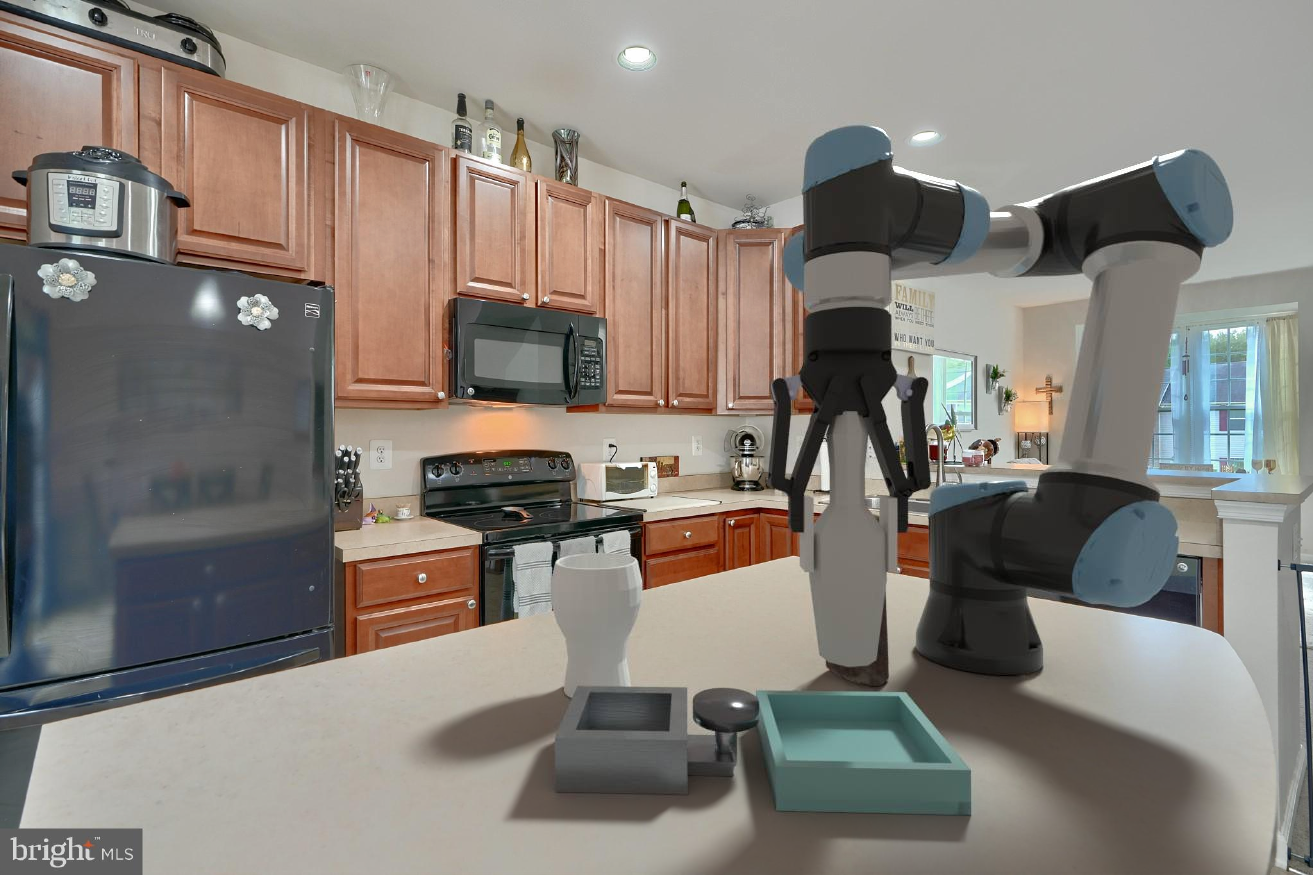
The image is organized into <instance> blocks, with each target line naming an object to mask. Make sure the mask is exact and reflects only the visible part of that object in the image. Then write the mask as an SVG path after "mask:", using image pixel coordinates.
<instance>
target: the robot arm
mask: <svg viewBox="0 0 1313 875" xmlns="http://www.w3.org/2000/svg"><path fill="white" fill-rule="evenodd" d="M893 160H894V154H893V152H892V142H891V138H890V137H889V136H888V135H887V134H886V132H885V131H884V130H883V129H881V128H879V127H878V126H877V127H876V126H873V125H868V124H866V125H865V124H864V125H863V124H861V125H860V124H854V125H847V126H846V125H845V126H842V127H838V128H834V129H830V130H829V131H826V132H825V133H823V134H822V135H820V136H818V137H817V138H815V139H814V140H813V141H812V142H811V143H810V145H809V146H808V148H807V149H806V152H805V158H804V166H803V182H802V190H801V194H802V211H803V212H802V213H803V214H802V216H803V217H802V218H803V220H802V221H803V229H802V230H800V231H799V232H797V233H796V234H794V235H792V236H791V237H790V238H789V240H787V242H786V244H785V246H784V249H783V253H782V266H783V271H784V275H785V277H786V279H787V280H788V282H789V283H790V285H791V286H792V287H794V288H795V289H796V290H798V291H799V292H802V293H803V308H804V309H805V310H806V311H807V312H809V313H808V314H807V315H806V317H805V318H804V319H803V363H802V366H801V369H799V372H798V374H796V375H793V376H789V377H785V378H782V377H778V378H775V379H773V380H772V381H771V382H770V383H769V390H770V394H771V399H772V401H773V405H774V406H773V407H774V408H773V418H772V428H771V439H770V440H771V441H770V449H769V450H770V452H769V461H768V471H767V485H769V487H771V488H772V489H775V490H777V491H780V492H783V493H785V495H786V496H787V526H788V527H789V528H788V529H789V531H791V532H792V533H794V534H795V533H796V534H797V533H798V534H799V567H800V568H801V569H802V570H803V572H805V573H809V572H814V523H815V522H814V516H815V515H814V514H815V512H814V510H815V508H814V506H815V504H814V503H815V502H814V499H815V498H814V497H812V496H810V495H809V494H808V495H807V494H805V493H806V490H807V487H808V484H809V482H810V479H811V475H812V473H813V471H814V468H815V464H816V463H817V458H818V456H819V452H820V450H821V447H822V445H823V442H824V439H825V437H826V436H825V435H826V433H827V430H828V427H829V424H830V422H831V419H832V416H834V415H842V414H843V412H844V411H857V413H858V415H863V419H864V422H865V425H866V428H867V431H868V439H869V440H870V442H871V446H872V449H873V451H874V454H875V458H876V460H877V463H878V466H879V468H880V471H881V474H882V477H883V480H884V482H885V485H886V488H887V491H888V493H889V494H888V495H887V494H885V495H882V494H881V495H880V494H879V496H878V497H879V503H878V504H879V506H878V507H879V508H878V510H879V512H878V516H879V523H880V525H881V526H882V527H883V529H884V530H885V531H886V533H887V574H888V573H889V574H891V573H893V574H896V573H897V574H898V534H906V533H907V532H908V529H909V499H910V498H911V497H912V495H913V494H914V493H916V492H919V491H922V490H924V491H925V490H928V489H929V488H930V487H931V485H932V478H931V468H930V461H929V460H930V458H929V448H928V447H929V446H928V438H927V436H928V435H927V428H926V427H927V426H926V418H925V417H926V415H925V406H924V403H925V399H926V397H927V393H928V388H929V380H928V378H926V377H923V376H920V377H912V376H907V375H904V374H899V373H898V372H897V371H898V370H897V369H896V367H895V366H894V363H893V361H892V351H893V350H892V348H893V347H892V337H893V336H892V333H893V332H892V320H893V319H892V314H891V313H890V312H889V310H887V309H886V308H887V307H889V306H890V305H891V304H892V301H893V296H892V295H893V294H892V290H893V289H892V281H902V280H903V281H904V280H913V279H914V280H917V279H925V278H927V279H928V278H937V277H949V276H961V275H972V274H981V273H984V274H985V273H988V274H990V275H992V276H994V277H996V278H1000V279H1009V278H1010V279H1011V278H1030V277H1031V278H1032V277H1036V278H1037V277H1059V276H1060V277H1061V276H1062V277H1064V276H1074V275H1082V274H1084V276H1085V277H1086V278H1087V279H1089V280H1090V281H1091V282H1092V286H1091V291H1090V297H1089V301H1088V307H1087V310H1086V311H1087V312H1086V317H1085V322H1084V326H1083V332H1082V337H1081V343H1080V346H1079V352H1078V357H1077V361H1076V366H1075V371H1074V372H1075V373H1074V376H1073V382H1072V388H1071V392H1070V396H1069V402H1068V407H1067V411H1066V412H1067V413H1066V417H1065V421H1064V422H1065V423H1064V426H1063V432H1062V436H1061V442H1060V445H1059V446H1060V447H1059V451H1058V457H1057V461H1056V462H1055V463H1054V464H1052V465H1051V466H1049V467H1047V468H1046V469H1043V471H1040V474H1039V478H1038V481H1037V486H1036V490H1035V492H1029V491H1030V490H1029V487H1028V485H1027V484H1028V483H1027V482H1026V481H1025V480H1023V479H1017V480H1016V479H1014V480H1013V479H1011V480H996V481H981V482H968V483H955V484H954V483H951V484H941V485H938V486H936V487H935V488H934V489H933V490H932V491H931V493H930V496H929V507H928V514H927V519H928V522H927V523H928V560H929V561H928V563H929V564H928V567H929V572H928V573H929V590H928V596H927V599H926V602H925V605H924V607H923V611H922V612H921V613H922V614H921V616H920V618H919V621H918V625H917V627H916V632H915V650H916V651H917V652H918V653H919V654H920V655H921V656H923V657H924V658H926V659H928V660H930V661H931V662H934V663H937V664H940V665H943V666H946V667H949V668H952V669H957V670H962V671H967V672H970V673H971V672H972V673H978V674H979V673H980V674H986V675H996V676H997V675H999V676H1000V675H1001V676H1002V675H1003V676H1007V675H1008V676H1010V675H1012V676H1014V675H1015V676H1016V675H1024V674H1025V675H1026V674H1029V673H1035V672H1037V671H1039V670H1040V669H1042V668H1043V666H1044V646H1043V643H1042V640H1041V638H1040V634H1039V631H1038V629H1037V625H1036V623H1035V620H1034V617H1033V615H1032V612H1031V609H1030V606H1029V603H1028V589H1032V590H1035V591H1039V592H1044V593H1049V594H1054V595H1058V596H1064V597H1068V598H1072V599H1077V600H1079V601H1082V602H1085V603H1087V604H1091V605H1099V604H1100V605H1108V606H1112V607H1118V608H1132V607H1138V606H1141V605H1143V604H1144V603H1146V602H1148V601H1150V600H1151V599H1152V598H1153V597H1154V596H1155V595H1157V594H1158V593H1159V592H1160V591H1161V589H1162V588H1163V587H1164V586H1165V584H1166V582H1167V581H1168V579H1169V578H1170V576H1171V574H1172V570H1173V569H1174V566H1175V564H1176V561H1177V556H1178V552H1179V542H1180V537H1179V535H1178V534H1176V533H1177V532H1178V529H1179V525H1178V523H1177V519H1176V517H1175V515H1174V514H1173V512H1172V510H1170V509H1169V507H1167V506H1165V505H1164V504H1161V503H1160V498H1161V491H1160V489H1159V488H1158V487H1157V486H1156V485H1155V483H1153V482H1152V480H1151V479H1150V478H1149V477H1148V475H1147V472H1148V469H1149V468H1148V467H1149V461H1150V457H1151V452H1152V451H1151V450H1152V446H1153V441H1154V440H1153V439H1154V434H1155V429H1156V423H1157V416H1158V411H1159V407H1160V400H1161V394H1162V389H1163V384H1164V379H1165V378H1164V377H1165V373H1166V367H1167V361H1168V356H1169V355H1168V354H1169V351H1170V345H1171V339H1172V335H1173V334H1172V333H1173V327H1174V322H1175V317H1176V311H1177V310H1176V309H1177V306H1178V301H1179V294H1180V288H1181V284H1183V283H1185V282H1186V281H1188V280H1189V279H1191V278H1193V277H1194V276H1195V275H1196V274H1198V272H1199V271H1200V269H1201V264H1202V258H1203V254H1204V250H1205V248H1216V247H1217V246H1218V245H1221V244H1223V243H1225V242H1226V241H1228V239H1229V238H1230V236H1231V234H1232V231H1233V227H1234V207H1233V206H1234V205H1233V201H1232V198H1231V197H1232V196H1231V193H1230V189H1229V186H1228V183H1227V181H1226V179H1225V176H1224V174H1223V172H1222V170H1221V168H1220V166H1219V165H1218V164H1217V163H1216V161H1215V160H1214V159H1213V158H1212V157H1211V156H1210V155H1209V154H1208V153H1206V152H1204V151H1202V150H1200V149H1195V148H1187V149H1182V150H1179V151H1175V152H1172V153H1168V154H1165V155H1156V156H1153V157H1152V159H1151V160H1149V161H1146V162H1142V163H1140V164H1137V165H1134V166H1130V167H1127V168H1124V169H1121V170H1117V171H1115V172H1112V173H1109V174H1106V175H1103V176H1099V177H1095V178H1093V179H1090V180H1087V181H1083V182H1082V183H1078V184H1074V185H1071V186H1069V187H1066V188H1062V189H1061V190H1058V191H1055V192H1053V193H1050V194H1048V195H1045V196H1042V197H1039V198H1037V199H1033V200H1031V201H1028V202H1024V203H1023V202H1022V203H1016V204H1015V203H1013V204H1006V205H1003V206H1000V207H999V208H997V209H995V210H994V211H993V212H991V210H990V205H989V203H988V200H987V198H986V197H985V196H984V195H983V194H982V193H981V192H979V190H977V189H974V188H972V187H970V186H966V185H963V184H961V182H958V181H957V180H956V181H955V180H948V179H945V178H941V177H935V176H931V175H927V174H923V173H918V172H914V171H909V170H906V169H904V168H902V167H899V166H895V165H893ZM800 387H802V389H803V390H804V391H805V393H806V395H807V396H808V397H809V398H810V400H811V402H813V404H814V406H813V409H812V412H811V415H810V418H809V423H808V426H807V429H806V431H805V435H804V437H803V441H802V444H801V446H800V449H799V452H798V454H797V458H796V460H795V463H794V466H793V469H792V473H791V475H790V477H789V478H790V479H789V478H786V475H787V474H786V472H787V461H788V452H789V441H790V440H789V439H790V431H791V430H790V428H791V421H792V420H791V418H792V401H793V400H795V399H796V398H797V397H798V389H799V388H800ZM893 387H894V389H895V390H896V397H897V399H899V401H901V403H900V415H901V417H900V418H901V425H902V426H901V427H902V428H901V429H902V437H903V446H904V447H903V448H904V456H905V466H906V468H905V469H906V473H905V471H904V468H903V465H902V462H901V459H900V456H899V454H898V451H897V447H896V445H895V442H894V440H893V439H894V438H893V437H892V434H891V431H890V428H889V425H888V422H887V419H888V418H887V415H886V412H885V409H884V406H883V403H882V402H883V401H884V398H885V397H886V396H887V395H888V393H889V392H890V391H891V389H892V388H893Z"/></svg>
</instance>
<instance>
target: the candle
mask: <svg viewBox="0 0 1313 875" xmlns="http://www.w3.org/2000/svg"><path fill="white" fill-rule="evenodd" d="M872 514H873V513H872ZM873 515H874V517H875V518H876V519H877V521H878V522H879V514H878V515H877V514H873ZM887 611H888V610H887V589H886V590H885V598H884V605H883V613H882V621H881V628H880V636H879V643H878V651H877V659H876V660H875V661H874V662H872V663H871V664H869V665H868V666H855V667H846V666H842V665H838V664H834V663H830V662H828V661H826V660H825V667H826V668H827V669H828V670H829V671H832V672H833V674H835V675H837V676H841V677H842V678H844V679H846V680H848V681H851V682H855V683H859V684H863V685H864V686H866V687H867V686H869V687H879V686H881V685H883V684H884V683H886V681H888V680H889V678H890V673H889V671H890V670H889V664H890V663H889V662H890V661H889V638H888V616H887V615H888V614H887Z"/></svg>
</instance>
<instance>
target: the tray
mask: <svg viewBox="0 0 1313 875" xmlns="http://www.w3.org/2000/svg"><path fill="white" fill-rule="evenodd" d="M755 696H756V697H757V698H758V700H759V723H758V724H757V725H756V726H755V727H756V730H757V734H758V738H759V743H760V746H761V752H762V755H763V760H764V762H765V763H764V764H765V769H766V771H767V776H768V781H769V785H770V789H771V793H772V794H771V795H772V799H773V802H774V805H775V807H774V808H775V810H776V812H811V813H812V812H814V813H815V812H817V813H820V812H821V813H858V814H859V813H860V814H866V813H868V814H900V815H901V814H903V815H904V814H905V815H906V814H907V815H909V814H910V815H957V816H972V770H971V768H970V767H969V766H968V765H967V763H966V762H965V761H964V760H963V759H962V757H961V756H960V755H959V754H958V753H957V752H956V750H955V749H954V748H953V747H952V746H951V745H950V743H949V742H948V741H947V739H946V738H945V737H944V736H943V735H942V734H941V732H939V730H938V729H937V728H936V727H935V725H934V724H933V723H932V722H931V721H930V720H929V718H928V717H927V716H926V715H925V713H924V712H923V711H922V710H921V708H919V706H918V705H917V704H916V703H915V701H914V700H913V699H912V698H911V697H910V696H909V695H908V693H907V692H905V691H899V692H898V691H847V690H845V691H840V690H839V691H837V690H836V691H835V690H833V691H832V690H831V691H829V690H828V691H827V690H775V689H774V690H769V689H765V690H762V689H761V690H760V689H759V690H757V689H756V690H755Z"/></svg>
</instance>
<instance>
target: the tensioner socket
mask: <svg viewBox="0 0 1313 875" xmlns="http://www.w3.org/2000/svg"><path fill="white" fill-rule="evenodd" d="M570 699H571V700H570V701H569V704H568V707H567V709H566V712H565V713H564V716H563V717H562V720H561V723H560V725H559V727H558V730H557V731H556V734H555V737H554V792H555V793H585V794H586V793H592V794H593V793H594V794H595V793H596V794H601V793H602V794H604V793H605V794H637V795H638V794H639V795H640V794H641V795H644V794H645V795H647V794H649V795H653V794H654V795H682V796H683V795H687V796H688V776H703V777H705V776H706V777H707V776H708V777H709V776H710V777H711V776H713V777H734V776H735V775H734V773H735V772H734V768H735V766H736V765H737V763H738V733H742V732H746V731H750V730H752V729H753V728H755V727H757V726H756V725H757V724H758V723H759V700H758V698H757V697H756V695H754V694H753V693H751V692H749V691H747V690H743V689H739V688H733V687H732V688H731V687H714V688H708V689H705V690H702V691H699V692H697V693H696V694H695V695H694V696H693V698H692V719H693V722H694V723H695V724H696V725H697V726H699V727H700V728H703V729H706V730H708V731H711V732H714V734H688V687H687V686H686V687H685V686H682V687H681V686H677V687H676V686H631V687H622V686H577V688H576V690H575V693H574V695H573V697H572V698H570Z"/></svg>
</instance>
